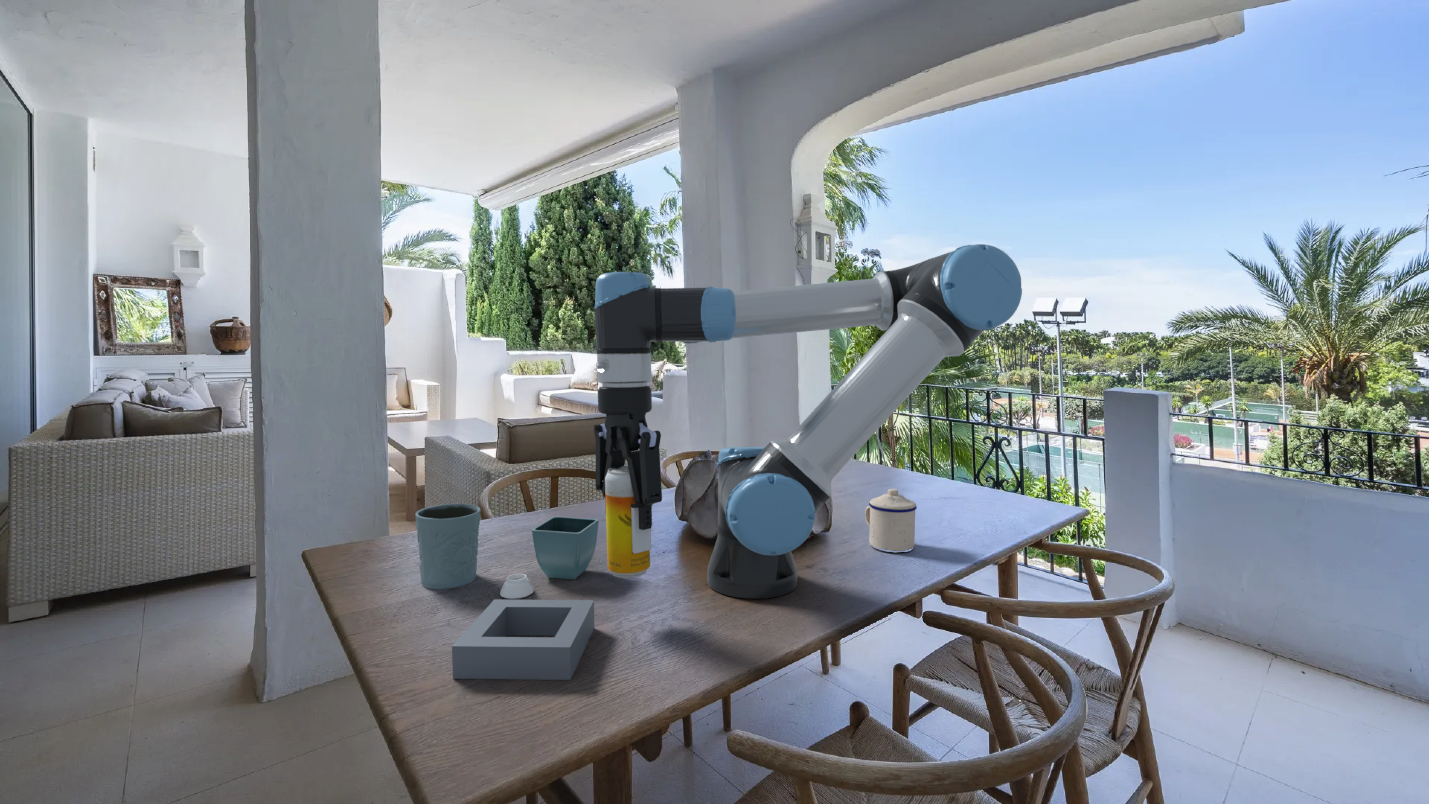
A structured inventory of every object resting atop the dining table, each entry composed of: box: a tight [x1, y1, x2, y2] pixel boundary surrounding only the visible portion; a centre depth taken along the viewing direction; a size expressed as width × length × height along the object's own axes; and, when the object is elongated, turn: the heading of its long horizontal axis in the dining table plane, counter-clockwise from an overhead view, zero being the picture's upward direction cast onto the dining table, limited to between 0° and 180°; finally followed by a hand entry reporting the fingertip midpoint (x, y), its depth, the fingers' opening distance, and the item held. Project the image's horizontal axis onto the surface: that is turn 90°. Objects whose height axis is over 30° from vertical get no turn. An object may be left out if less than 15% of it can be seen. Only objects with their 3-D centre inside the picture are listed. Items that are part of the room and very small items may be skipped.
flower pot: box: [531, 516, 600, 580], centre depth 109 cm, size 9×9×9 cm
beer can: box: [605, 465, 651, 579], centre depth 90 cm, size 6×6×15 cm
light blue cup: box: [414, 503, 482, 590], centre depth 106 cm, size 10×10×12 cm
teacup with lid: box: [864, 488, 918, 551], centre depth 127 cm, size 12×9×12 cm
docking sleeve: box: [451, 598, 595, 681], centre depth 82 cm, size 14×14×4 cm
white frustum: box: [499, 573, 534, 600], centre depth 101 cm, size 5×3×5 cm
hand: (628, 545), depth 91 cm, fingers closed on beer can, 6 cm apart
